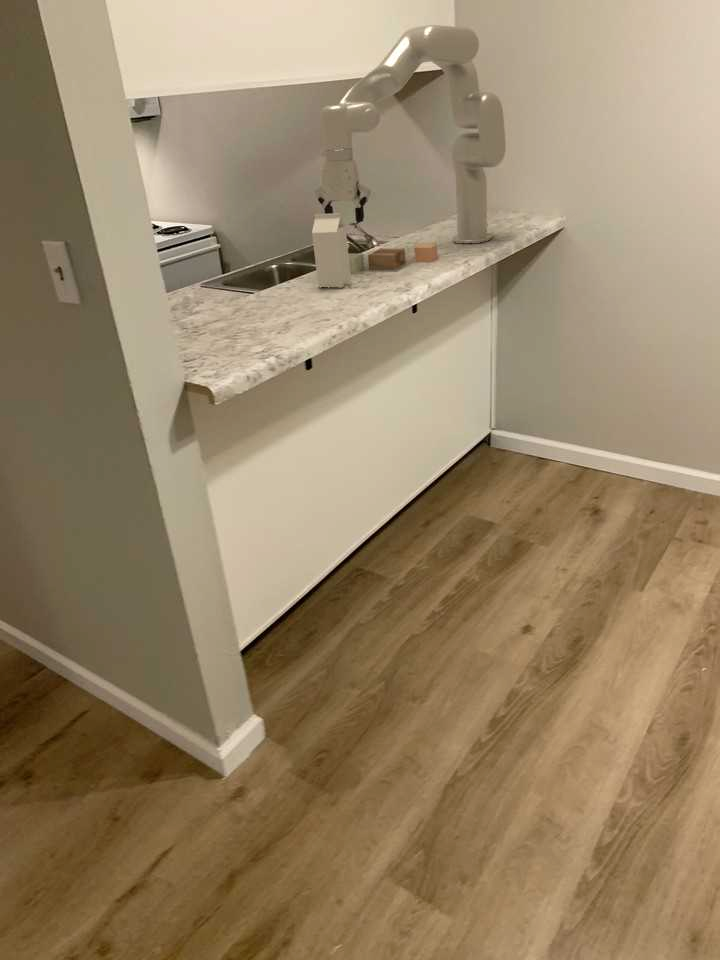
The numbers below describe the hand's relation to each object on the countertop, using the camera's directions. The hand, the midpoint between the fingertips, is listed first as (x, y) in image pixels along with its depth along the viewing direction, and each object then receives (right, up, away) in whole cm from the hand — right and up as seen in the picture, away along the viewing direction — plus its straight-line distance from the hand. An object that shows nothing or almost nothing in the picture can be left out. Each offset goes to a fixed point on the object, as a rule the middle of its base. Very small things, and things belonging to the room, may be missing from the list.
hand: (344, 221), depth 207 cm
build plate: (+12, -11, +8) cm, 18 cm away
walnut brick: (+12, -10, +7) cm, 18 cm away
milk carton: (-3, -19, -3) cm, 20 cm away
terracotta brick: (+24, -9, +10) cm, 27 cm away
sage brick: (+2, -13, +7) cm, 15 cm away
